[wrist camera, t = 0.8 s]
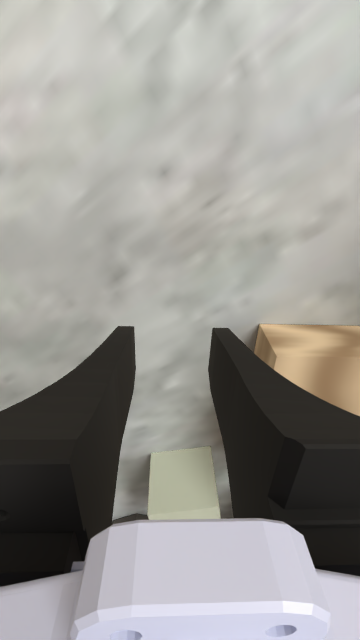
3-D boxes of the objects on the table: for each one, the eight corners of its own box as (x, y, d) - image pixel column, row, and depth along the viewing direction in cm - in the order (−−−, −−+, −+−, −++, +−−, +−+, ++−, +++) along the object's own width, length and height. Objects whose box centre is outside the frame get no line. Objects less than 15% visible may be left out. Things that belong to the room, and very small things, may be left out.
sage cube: (210, 445, 30) (219, 506, 25) (215, 482, 33) (223, 543, 28) (150, 452, 30) (147, 514, 25) (160, 488, 33) (159, 551, 28)
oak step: (383, 326, 24) (423, 358, 20) (336, 439, 30) (360, 479, 27) (259, 324, 24) (276, 356, 20) (237, 439, 30) (247, 480, 26)
